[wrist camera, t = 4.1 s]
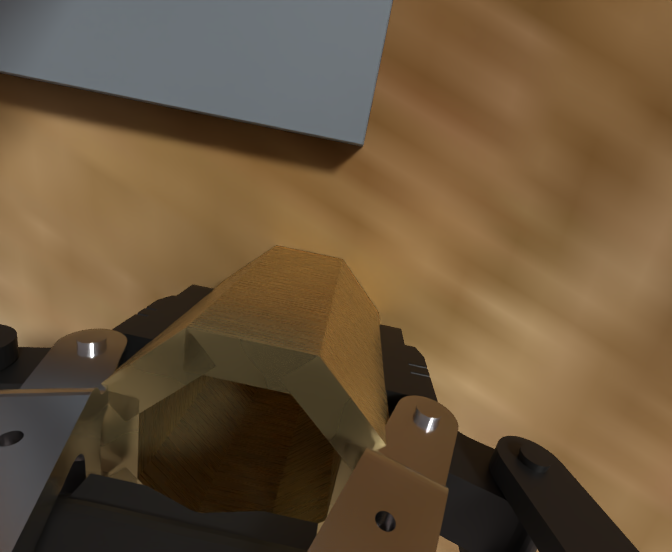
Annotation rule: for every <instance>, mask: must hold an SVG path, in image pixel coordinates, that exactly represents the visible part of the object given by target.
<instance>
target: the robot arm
mask: <svg viewBox="0 0 672 552" xmlns="http://www.w3.org/2000/svg"><path fill="white" fill-rule="evenodd" d="M212 290H214V289H212V288H207V287H202V286H197V285H191V286H190V287H189V288H187V289H186V290H184V291H183V292H181V293H180V294H179V295H177V296H169V297H166V298H163V299H159V300H157V301H155V302H154V303H152V304H151V305H149V306H147V308H146V309H145V308H144V309H143V310H141V311H140V312H138V314H135V315H134V316H132V317H131V318H129V319H128V320H126V321H125V322H123V323H121V324H120V325H118V326H117V327H115V328H114V329H112V330H109V329H88V330H82V331H77V332H74V333H71V334H68V335H66V336H64V337H62V338H61V339H59V340H58V341H57V342H56V343H55V344H54V346H53V347H52V348H33V347H18V341H17V332H16V330H14V329H13V328H11V327H9V326H6V325H1V324H0V552H436V549H437V544H438V540H439V535H440V536H442V537H444V538H446V539H448V540H449V541H451V542H453V543H455V544H457V545H458V546H459V551H460V552H536V551H537V549H538V551H539V552H639V551H638V550H637V548H636V547H635V546H634V545H633V544H632V543H631V542H630V540H629V539H628V538H627V537H626V536H625V535H624V534H623V532H622V531H621V530H620V529H619V528H618V527H617V526H616V524H615V523H614V522H613V521H612V520H611V519H610V518H609V516H608V515H607V514H606V513H605V512H604V511H603V510H602V508H601V507H600V506H599V505H598V504H597V503H596V502H595V500H594V499H593V498H592V497H591V496H590V495H589V494H588V492H587V491H586V490H585V489H584V488H583V487H582V486H581V485H580V483H579V482H578V481H577V480H576V479H575V478H574V477H573V475H572V474H571V473H570V472H569V471H568V470H567V469H566V467H565V466H564V465H563V464H562V463H561V462H560V461H559V460H558V459H557V458H556V457H555V456H554V455H553V454H552V453H550V452H549V451H548V450H546V449H545V448H543V447H542V446H540V445H538V444H536V443H534V442H532V441H530V440H527V439H524V438H521V437H517V436H506V437H503V438H501V439H500V440H499V441H498V443H497V446H496V448H495V449H493V448H491V447H489V446H486V445H484V444H482V443H480V442H477V441H475V440H473V439H471V438H469V437H467V436H465V435H463V434H462V433H460V432H459V431H458V422H457V420H456V418H455V417H454V415H453V414H452V413H451V412H450V411H449V410H448V409H447V408H446V407H444V406H443V405H442V404H440V403H438V401H437V398H436V395H435V392H434V388H433V385H432V382H431V379H430V377H429V376H430V375H429V372H428V369H427V365H426V362H425V359H424V357H423V356H422V354H421V353H420V352H419V351H418V350H417V349H416V348H415V347H412V346H407V345H405V344H404V340H403V335H402V331H401V329H399V328H395V327H390V326H385V325H379V327H380V338H381V349H382V360H383V371H384V382H385V390H386V395H387V405H388V416H389V420H388V422H387V424H386V425H385V434H386V445H382V444H378V443H376V444H375V446H374V448H371V447H367V448H366V450H365V451H364V453H363V455H362V456H361V458H360V460H359V462H358V463H357V465H356V467H355V469H354V470H353V472H352V474H351V476H350V477H349V479H348V481H347V483H346V484H345V486H344V488H343V490H342V491H341V493H340V495H339V497H338V498H337V500H336V502H335V504H334V505H333V507H332V509H331V511H330V512H329V514H328V516H327V518H326V519H325V521H324V523H323V525H322V526H321V528H320V530H319V532H318V533H317V529H318V523H314V522H310V521H305V520H301V519H296V518H291V517H287V516H282V515H278V514H273V513H269V512H264V511H245V512H213V513H199V512H195V511H192V510H190V509H188V508H187V507H185V506H183V505H181V504H179V503H177V502H176V501H174V500H172V499H170V498H168V497H166V496H165V495H163V494H161V493H159V492H157V491H155V490H154V489H152V488H150V487H148V486H146V485H142V484H137V483H133V482H128V481H124V480H119V479H115V478H110V477H109V472H104V471H101V446H100V438H101V429H102V424H103V420H104V416H105V413H106V411H107V408H108V385H106V384H101V383H102V382H103V381H105V380H106V379H107V378H108V377H109V376H111V375H112V374H113V373H114V372H115V371H116V370H117V369H118V368H119V367H120V366H121V365H122V364H124V363H125V362H126V361H127V360H129V359H130V358H131V357H132V356H133V355H135V354H136V353H137V352H138V351H139V350H141V349H142V348H143V347H144V346H146V345H147V344H148V343H149V342H150V341H152V340H153V339H154V338H156V337H157V336H158V335H159V334H160V333H162V332H163V331H164V330H165V329H166V328H168V327H169V326H170V325H171V324H172V323H174V322H175V321H176V320H177V319H179V318H180V317H181V316H182V315H183V314H185V313H186V312H187V311H188V310H189V309H191V308H192V307H193V306H194V305H196V304H197V303H198V302H199V301H200V300H202V299H203V298H204V297H205V296H206V295H208V294H209V293H210V292H211V291H212Z"/></svg>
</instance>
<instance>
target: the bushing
mask: <svg viewBox="0 0 672 552" xmlns="http://www.w3.org/2000/svg"><path fill="white" fill-rule="evenodd" d="M379 325H380V320H379V312H378V311H377V309H376V308H375V306H374V305H373V303H372V302H371V300H370V299H369V297H368V296H367V295H366V293H365V292H364V290H363V289H362V287H361V286H360V284H359V283H358V281H357V280H356V278H355V277H354V275H353V274H352V272H351V271H350V269H349V268H348V267H347V265H346V264H345V262H344V261H343V259H339V258H334V257H329V256H324V255H320V254H315V253H310V252H305V251H301V250H296V249H291V248H286V247H281V246H277V245H276V246H275V247H273V248H272V249H270V250H269V251H267V252H266V253H264V254H263V255H261V256H260V257H258V258H257V259H255V260H254V261H252V262H251V263H249V264H248V265H246V266H245V267H244V268H242V269H241V270H239V271H238V272H236V273H235V274H233V275H232V276H230V277H229V278H227V279H226V280H224V281H223V282H222V283H221V284H220V285H218V286H217V287H216V288H215V289H214V290H212V291H211V292H210V293H209V294H208V295H206V296H205V297H204V298H203V299H202V300H200V301H199V302H198V303H197V304H196V305H194V306H193V307H192V308H191V309H189V310H188V311H187V312H186V313H185V314H183V315H182V316H181V317H180V318H179V319H177V320H176V321H175V322H174V323H172V324H171V325H170V326H169V327H168V328H166V329H165V330H164V331H163V332H162V333H160V334H159V335H158V336H157V337H156V338H154V339H153V340H152V341H150V342H149V343H148V344H147V345H146V346H144V347H143V348H142V349H141V350H139V351H138V352H137V353H136V354H135V355H133V356H132V357H131V358H130V359H129V360H127V361H126V362H125V363H124V364H122V365H121V366H120V367H119V368H118V369H117V370H116V371H115V372H114V373H113V374H112V375H111V376H109V377H108V378H107V379H106V380H105V381H103V382H102V383H101V384H106V385H108V408H107V411H106V413H105V416H104V420H103V424H102V429H101V438H100V446H101V471H104V472H109V477H110V478H115V479H119V480H124V481H128V482H133V483H137V484H142V485H146V486H148V487H150V488H152V489H154V490H155V491H157V492H159V493H161V494H163V495H165V496H166V497H168V498H170V499H172V500H174V501H176V502H177V503H179V504H181V505H183V506H185V507H187V508H188V509H190V510H192V511H195V512H199V513H213V512H245V511H264V512H269V513H273V514H278V515H282V516H287V517H291V518H296V519H301V520H305V521H310V522H314V523H318V529H317V533H318V532H319V530H320V528H321V526H322V525H323V523H324V521H325V519H326V518H327V516H328V514H329V512H330V511H331V509H332V507H333V505H334V504H335V502H336V500H337V498H338V497H339V495H340V493H341V491H342V490H343V488H344V486H345V484H346V483H347V481H348V479H349V477H350V476H351V474H352V472H353V470H354V469H355V467H356V465H357V463H358V462H359V460H360V458H361V456H362V455H363V453H364V451H365V450H366V448H367V447H371V448H374V446H375V444H376V443H378V444H382V445H386V434H385V425H386V424H387V422H388V420H389V416H388V405H387V395H386V390H385V382H384V371H383V360H382V349H381V338H380V327H379Z"/></svg>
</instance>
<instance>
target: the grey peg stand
mask: <svg viewBox="0 0 672 552" xmlns="http://www.w3.org/2000/svg"><path fill="white" fill-rule="evenodd" d="M392 3H393V0H0V73H3V74H8V75H13V76H18V77H23V78H28V79H33V80H37V81H42V82H47V83H52V84H57V85H62V86H67V87H72V88H77V89H82V90H87V91H92V92H97V93H101V94H106V95H111V96H116V97H121V98H126V99H131V100H136V101H141V102H146V103H151V104H156V105H160V106H165V107H170V108H175V109H180V110H185V111H190V112H195V113H200V114H205V115H210V116H215V117H219V118H224V119H229V120H234V121H239V122H244V123H249V124H254V125H259V126H264V127H269V128H274V129H278V130H283V131H288V132H293V133H298V134H303V135H308V136H313V137H318V138H323V139H328V140H333V141H338V142H342V143H347V144H352V145H357V146H362V147H363V145H364V140H365V135H366V130H367V125H368V120H369V115H370V110H371V106H372V101H373V96H374V91H375V86H376V81H377V76H378V71H379V66H380V62H381V57H382V52H383V47H384V42H385V37H386V32H387V27H388V22H389V18H390V13H391V8H392Z"/></svg>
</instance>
